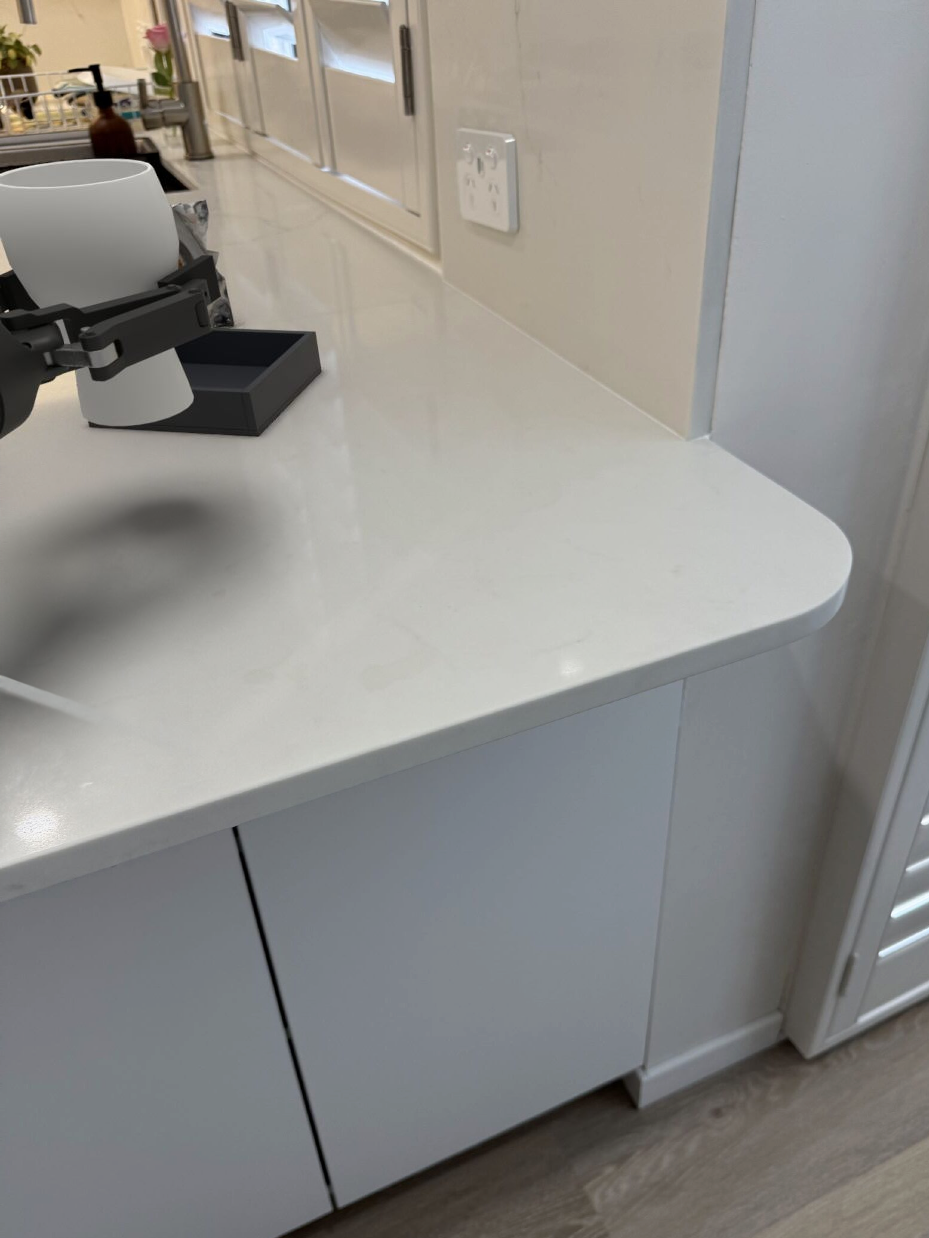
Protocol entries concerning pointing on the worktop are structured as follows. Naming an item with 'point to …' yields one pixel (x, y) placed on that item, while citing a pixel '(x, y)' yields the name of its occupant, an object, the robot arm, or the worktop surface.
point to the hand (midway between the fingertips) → (136, 273)
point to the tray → (240, 380)
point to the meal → (200, 252)
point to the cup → (97, 265)
